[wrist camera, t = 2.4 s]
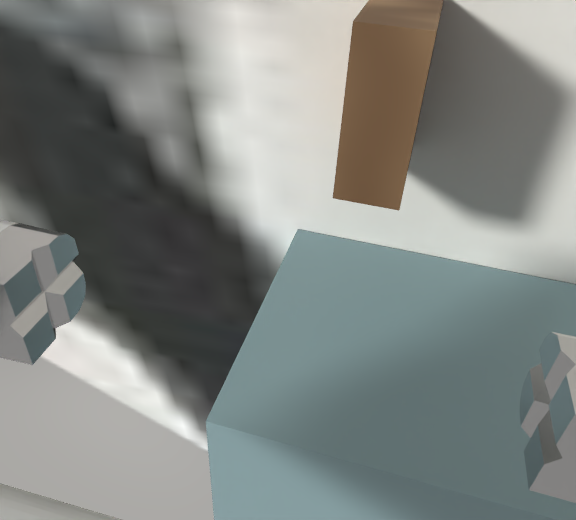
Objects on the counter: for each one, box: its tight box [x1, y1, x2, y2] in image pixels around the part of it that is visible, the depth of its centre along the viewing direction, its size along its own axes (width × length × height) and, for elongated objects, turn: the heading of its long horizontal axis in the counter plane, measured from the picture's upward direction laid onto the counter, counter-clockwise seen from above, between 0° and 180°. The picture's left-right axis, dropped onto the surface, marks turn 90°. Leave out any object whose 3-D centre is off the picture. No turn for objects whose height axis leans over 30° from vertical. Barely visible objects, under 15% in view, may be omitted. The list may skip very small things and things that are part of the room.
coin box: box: [206, 229, 576, 520], centre depth 22 cm, size 20×16×10 cm
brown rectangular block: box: [333, 0, 443, 210], centre depth 16 cm, size 2×5×4 cm, turn 177°
